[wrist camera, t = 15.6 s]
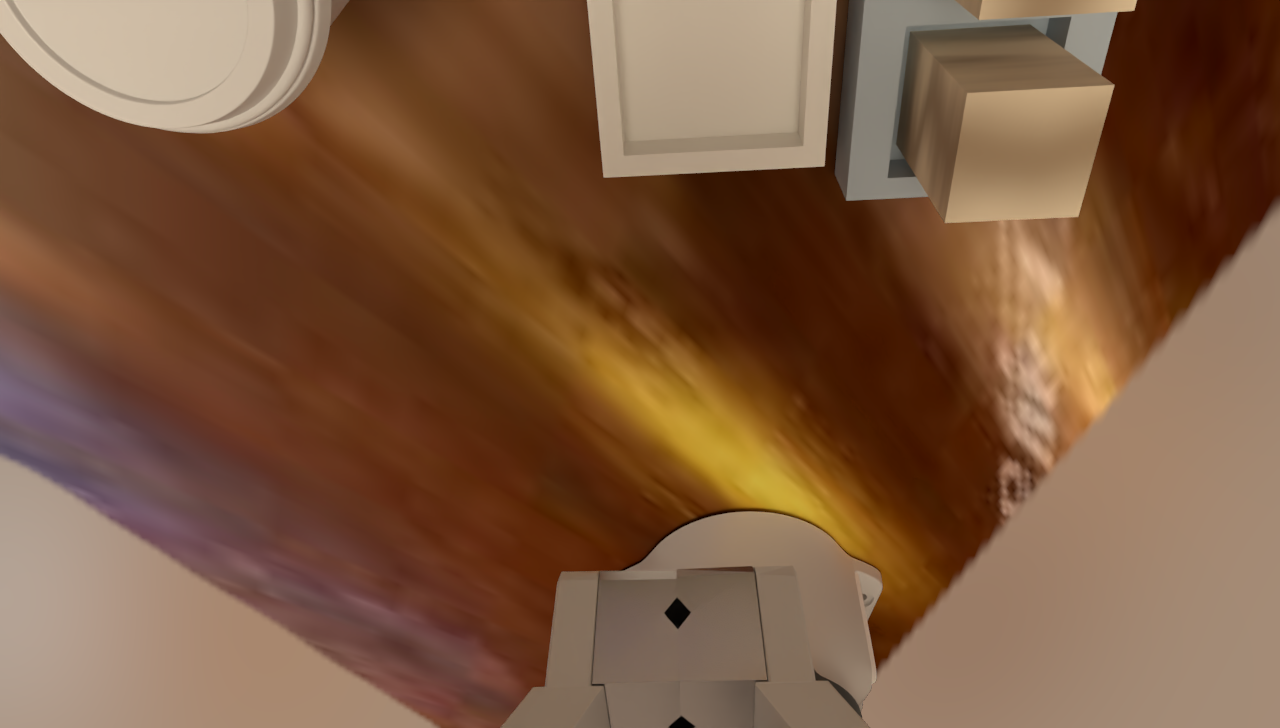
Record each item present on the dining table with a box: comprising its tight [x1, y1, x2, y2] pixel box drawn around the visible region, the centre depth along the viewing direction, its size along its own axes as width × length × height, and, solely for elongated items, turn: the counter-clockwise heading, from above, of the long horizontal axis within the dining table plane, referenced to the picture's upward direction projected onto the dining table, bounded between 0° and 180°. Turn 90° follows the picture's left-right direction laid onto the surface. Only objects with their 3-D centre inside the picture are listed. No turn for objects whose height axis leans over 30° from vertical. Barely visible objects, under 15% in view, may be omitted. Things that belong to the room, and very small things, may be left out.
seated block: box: [896, 24, 1114, 223], centre depth 33 cm, size 5×5×8 cm
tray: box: [587, 0, 837, 178], centre depth 35 cm, size 11×10×2 cm
